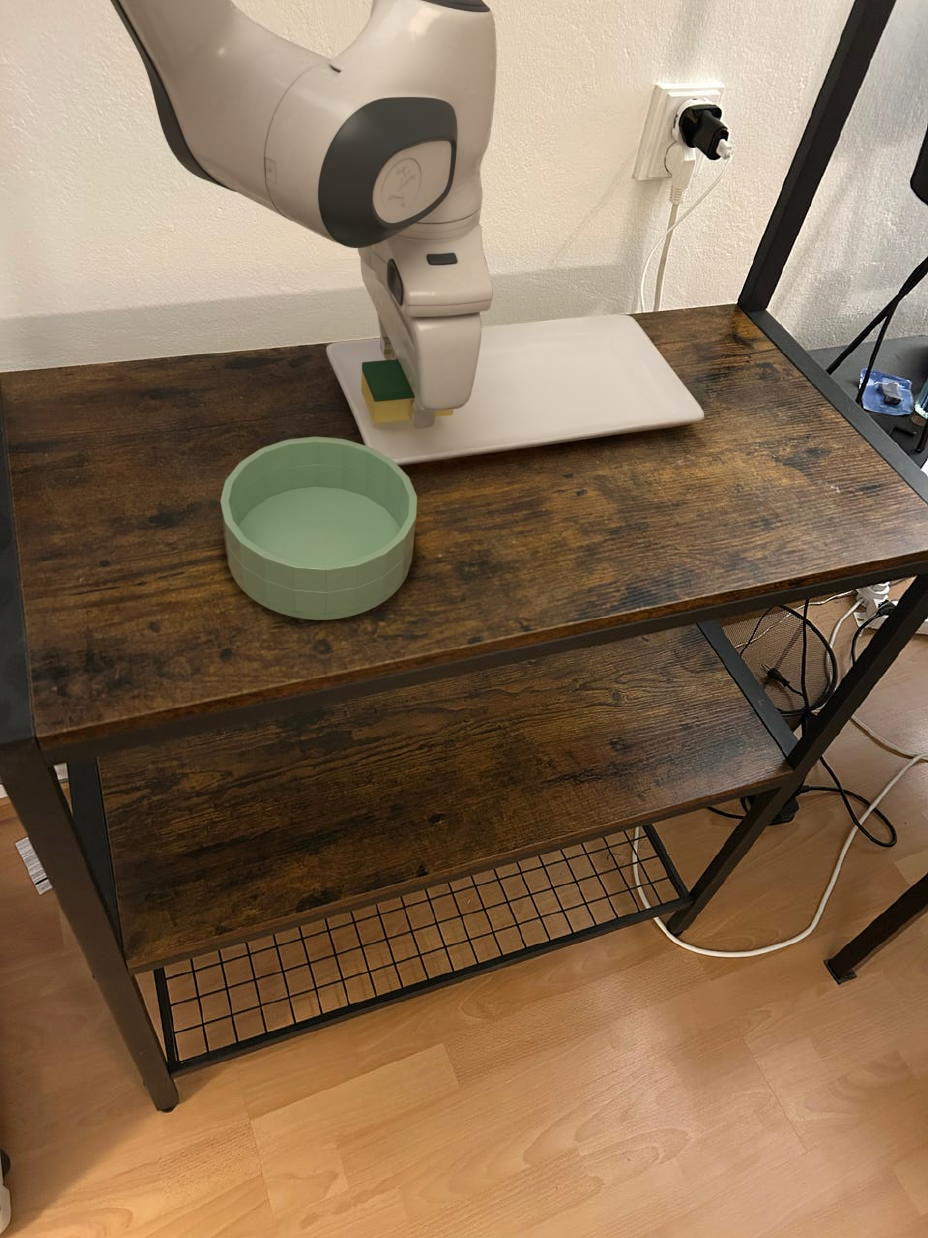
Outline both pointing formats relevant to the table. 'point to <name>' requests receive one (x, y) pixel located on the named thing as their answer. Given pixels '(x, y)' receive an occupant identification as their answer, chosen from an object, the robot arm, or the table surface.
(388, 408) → the sponge
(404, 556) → the bowl
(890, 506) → the table surface
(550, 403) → the tray
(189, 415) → the table surface
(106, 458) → the table surface
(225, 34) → the robot arm
